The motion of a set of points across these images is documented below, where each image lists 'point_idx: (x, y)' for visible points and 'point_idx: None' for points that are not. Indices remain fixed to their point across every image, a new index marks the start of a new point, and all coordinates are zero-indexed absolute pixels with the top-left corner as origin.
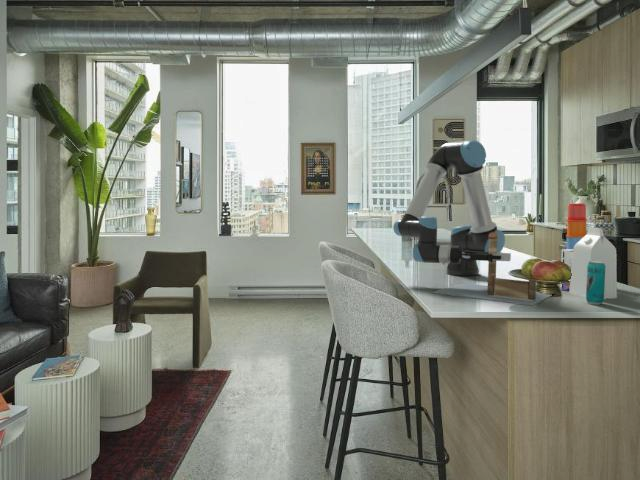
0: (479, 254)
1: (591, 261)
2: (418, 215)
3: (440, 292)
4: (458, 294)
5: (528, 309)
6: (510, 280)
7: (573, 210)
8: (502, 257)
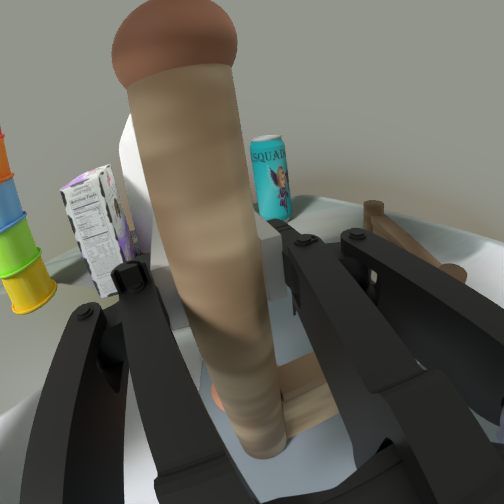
0: (445, 274)
1: (267, 137)
2: None
3: None
4: None
5: (444, 237)
6: (412, 239)
7: None
8: None
